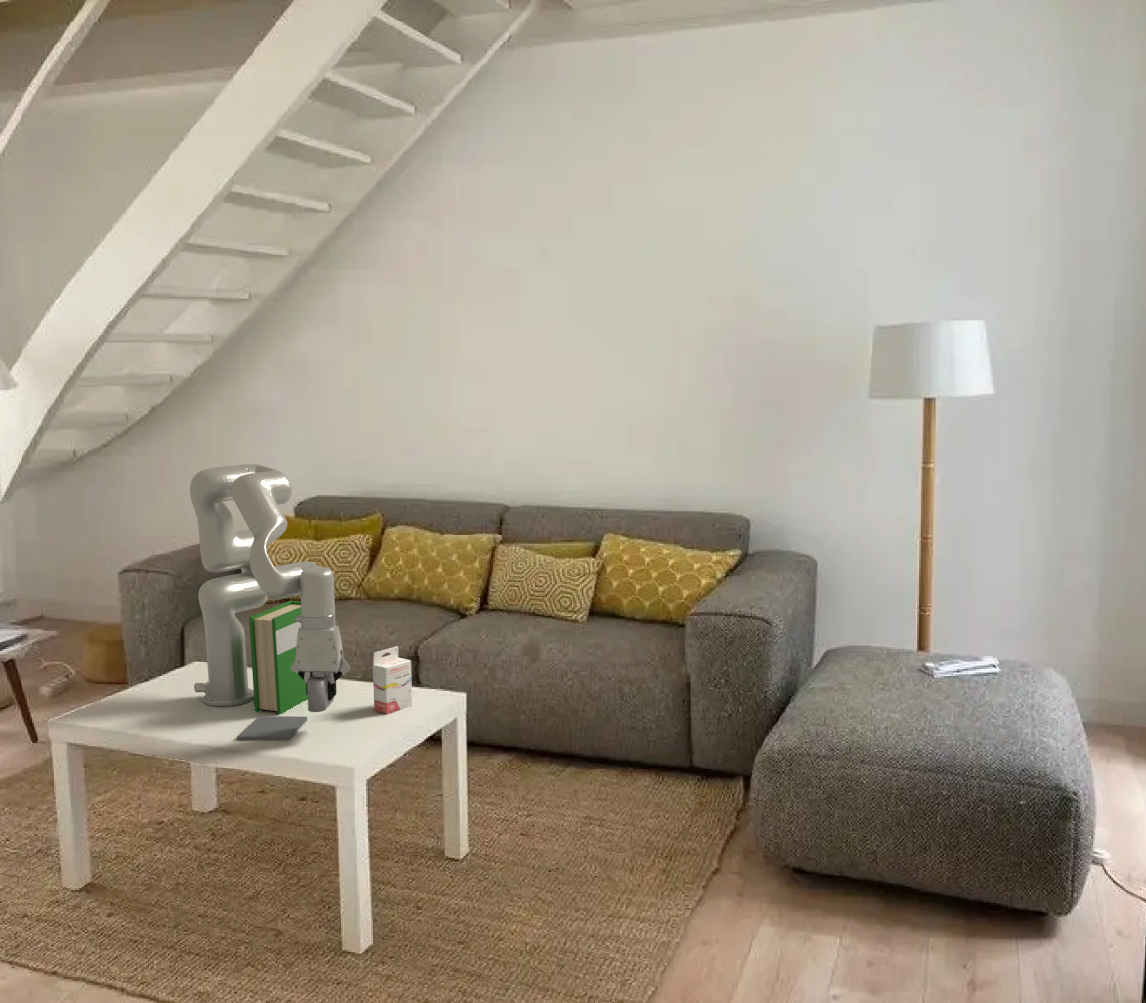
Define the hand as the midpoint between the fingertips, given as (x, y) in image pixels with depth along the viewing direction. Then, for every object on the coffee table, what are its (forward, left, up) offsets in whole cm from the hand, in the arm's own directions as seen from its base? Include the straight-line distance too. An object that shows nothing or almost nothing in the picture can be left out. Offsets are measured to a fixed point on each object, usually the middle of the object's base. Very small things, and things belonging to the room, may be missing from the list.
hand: (321, 697), depth 265 cm
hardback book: (-16, +22, -9) cm, 28 cm away
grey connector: (0, -1, -2) cm, 2 cm away
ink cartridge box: (+12, +18, -9) cm, 23 cm away
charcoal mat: (-13, +2, -8) cm, 15 cm away
